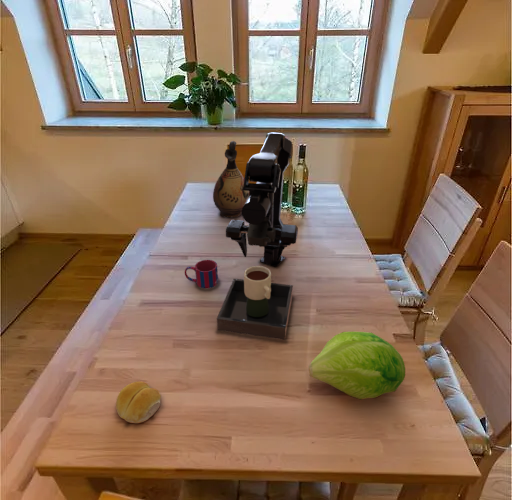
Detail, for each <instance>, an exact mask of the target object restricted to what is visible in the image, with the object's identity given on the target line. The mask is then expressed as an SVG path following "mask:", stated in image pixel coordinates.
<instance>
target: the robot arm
mask: <svg viewBox="0 0 512 500" xmlns="http://www.w3.org/2000/svg"><path fill="white" fill-rule="evenodd" d="M265 135H266V136H265V139H264V141H263V146H262V147H261V149H260V151H259V153H256V154H253V155H252V156H251V157H250V158H249V160H248V161H247V162H246V164H245V171H244V186H243V191H249V197H248V199H247V201H246V203H245V204H244V206H243V208H242V212H241V217H242V219H243V220H239V219H231V220H230V221H229V223H227V225H226V227H225V237H226V238H228V239H230V240H231V241H235V242H236V243H237V245H238V246H239V248H240V250H241V252H242V255H243V257H244V258H247V255H248V245H249V246H253V247H254V246H256V247H260V248H263V257H261V259H259V262H260V263H263V264H265V265H268V266H271V267H274V268H276V267H278V266H279V265H280V264H281V263H282V262H283V261H284V260H285V259H286V257H285V256H283V255H282V254H283V251H284V250H285V249H286V248H288V247H289V246H291V245H295V244H297V240H298V234H299V233H298V232H299V227H298V226H297V225H296V224H285V223H283V221H282V219H281V213H282V203H283V202H282V201H283V191H284V190H283V188H284V177H285V176H284V175H285V172H286V170H287V169H288V167H289V166H290V163H291V159H293V153H294V147H293V142H292V141H291V140H290V139H289V138H287V137H286V135H285V133H282V132H269V133H266V134H265ZM245 223H248V225H246V224H245Z"/></svg>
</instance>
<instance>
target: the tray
mask: <svg viewBox="0 0 512 500" xmlns="http://www.w3.org/2000/svg"><path fill="white" fill-rule="evenodd" d="M270 287H271V292H270V299H268V306H269V312H268V314H266V315H264V316H261V317H252V316H249V315H248V314H247V312H246V305H247V298H248V297H246V295H245V293H244V278H243V279H241V278H232V282H231V284H230V287H229V289H228V291H227V293H226V296H225V298H224V300H223V303H222V305H221V308H220V311H219V312H218V315H217V317H216V325H217V326H216V327H217V331H220V332H228V333H236V334H242V335H248V336H249V335H250V336H255V337H263V338H270V339H277V340H286V336H287V331H288V323H289V319H290V312H291V306H292V301H293V293H294V285H293V284H287V283H286V284H285V283H276V282H271V286H270Z"/></svg>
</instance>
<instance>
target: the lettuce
mask: <svg viewBox="0 0 512 500" xmlns="http://www.w3.org/2000/svg"><path fill="white" fill-rule="evenodd" d="M405 365H406V364H405V361H404V358H403V356H402V355H401V353H400V352H399V351H398V350H397V349H396V348H395V346H393V344H391V343H389V342H388V341H387V340H385V339H384V338H382V337H380V336H378V335H377V334H375V333H374V332H370V331H369V332H368V331H343V332H340V333H337V334H335V335H334V336H333V337H331V338H330V339H329V340H328V341H327V342H326V344H325V345H324V347H323V348H322V350H321V352H319V353H318V354H317V355H316V356H315V357H314V359H313V360H311V362H310V363H309V365H308V374H309V377H310V378H313V379H314V380H317V381H320V382H323V383H325V384H327V385H329V386H331V387H333V388H335V389H337V390H338V391H340V392H342V393H344V394H346V395H347V396H349V397H352V398H354V399H358V400H359V401H360V400H365V399H376V398H377V397H380V396H381V395H383V394H388V393H393V392H396V391H397V390H398V388H399V387H400V386H401V385H402V383H403V382H404V381H405V378H406V366H405Z"/></svg>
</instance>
